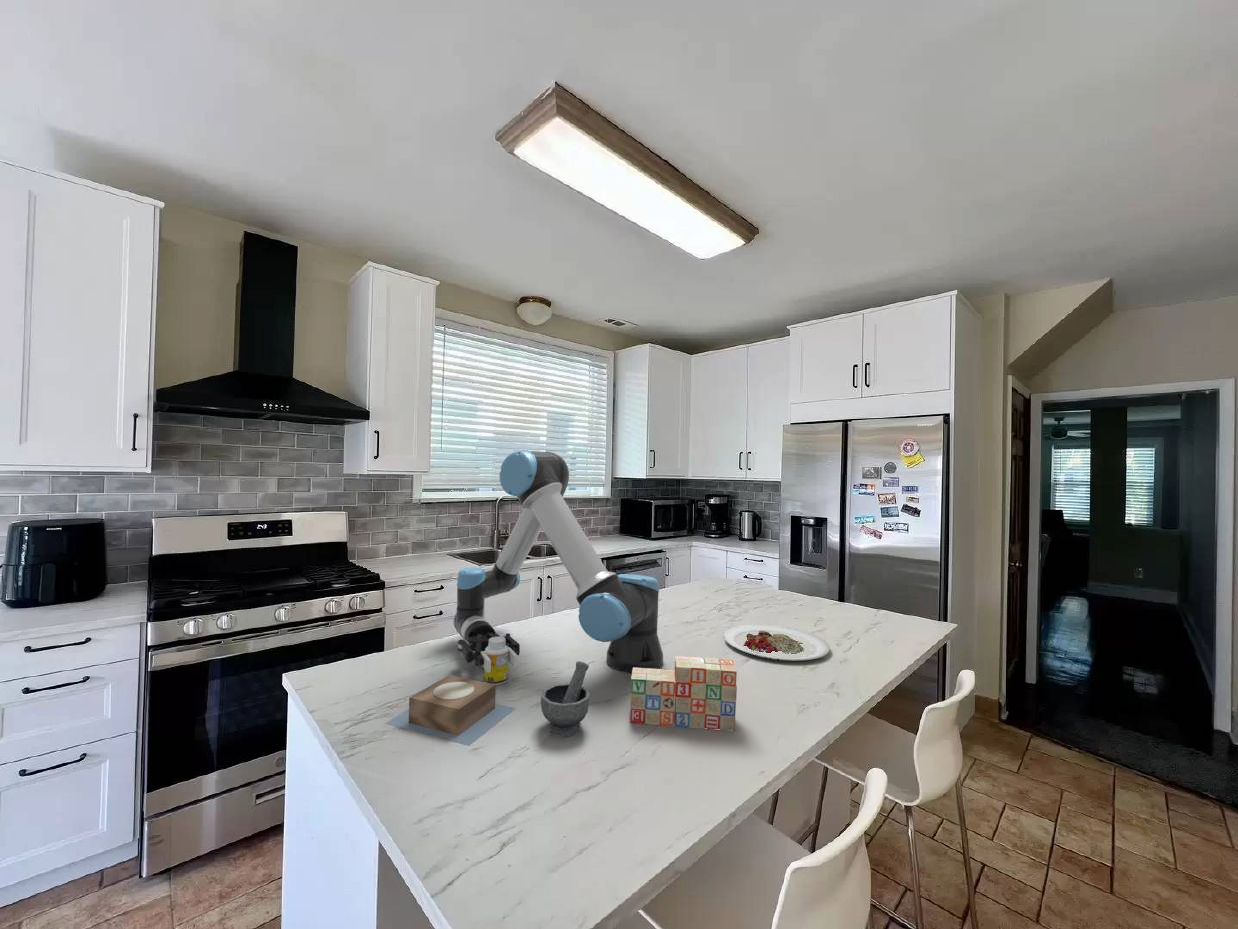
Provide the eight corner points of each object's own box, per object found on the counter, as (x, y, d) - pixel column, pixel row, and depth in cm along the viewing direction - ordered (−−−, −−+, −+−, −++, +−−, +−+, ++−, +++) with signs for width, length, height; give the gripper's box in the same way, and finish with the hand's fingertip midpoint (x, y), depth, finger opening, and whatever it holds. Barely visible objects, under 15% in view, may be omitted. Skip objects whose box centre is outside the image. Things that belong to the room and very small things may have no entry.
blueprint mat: (516, 710, 110) (516, 708, 110) (469, 747, 95) (469, 745, 95) (440, 692, 117) (440, 690, 117) (385, 725, 102) (385, 723, 102)
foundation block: (495, 708, 109) (495, 683, 109) (458, 735, 98) (459, 708, 98) (449, 697, 113) (449, 674, 113) (408, 722, 102) (409, 696, 102)
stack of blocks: (629, 724, 105) (630, 663, 105) (631, 709, 111) (632, 652, 111) (735, 732, 103) (737, 670, 103) (731, 717, 109) (733, 658, 109)
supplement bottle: (480, 680, 124) (481, 637, 124) (503, 675, 127) (504, 634, 127) (488, 688, 119) (489, 644, 119) (511, 683, 122) (512, 640, 122)
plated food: (838, 642, 159) (838, 632, 159) (817, 675, 133) (817, 662, 133) (743, 624, 175) (743, 614, 175) (708, 650, 149) (709, 638, 149)
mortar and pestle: (566, 747, 96) (567, 682, 96) (530, 731, 101) (531, 670, 101) (602, 723, 105) (604, 664, 105) (568, 709, 110) (569, 653, 110)
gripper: (511, 643, 143) (540, 673, 123) (441, 653, 134) (461, 688, 114) (512, 616, 143) (541, 642, 123) (442, 624, 134) (462, 654, 114)
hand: (502, 664), depth 119 cm, fingers closed on supplement bottle, 6 cm apart
